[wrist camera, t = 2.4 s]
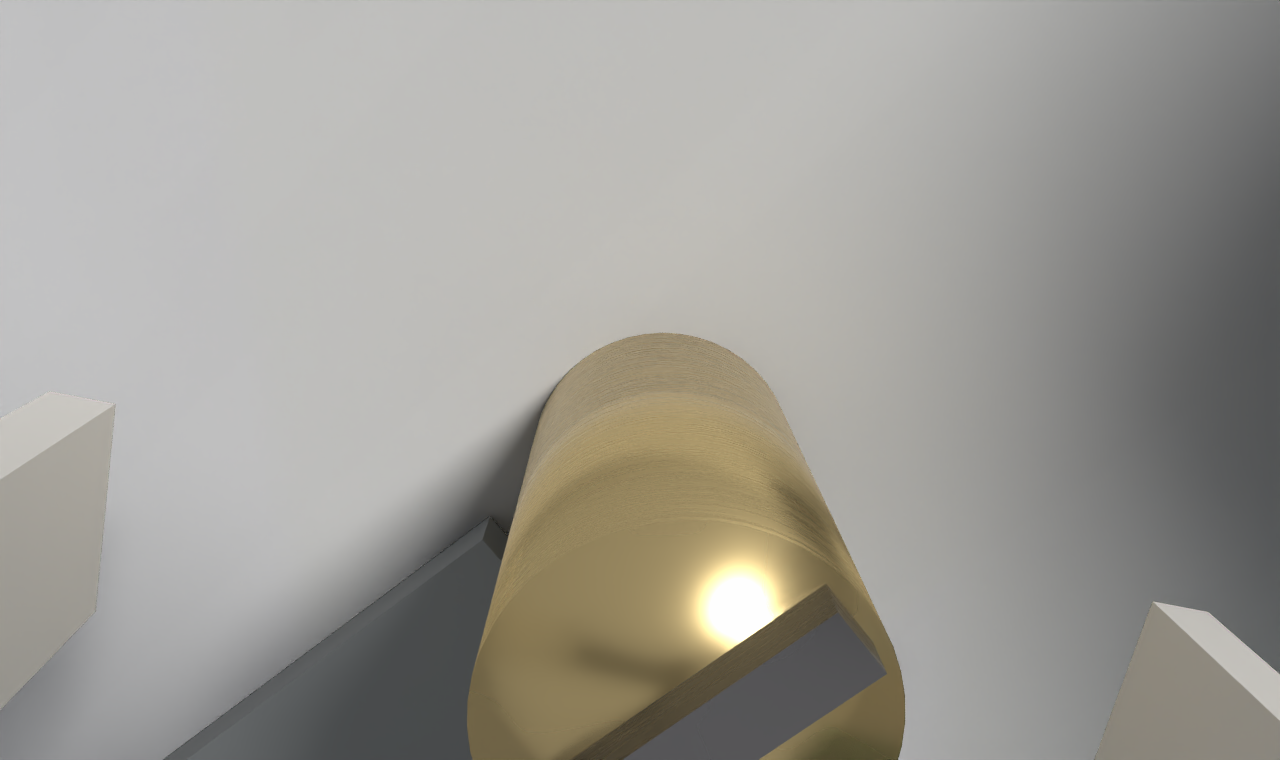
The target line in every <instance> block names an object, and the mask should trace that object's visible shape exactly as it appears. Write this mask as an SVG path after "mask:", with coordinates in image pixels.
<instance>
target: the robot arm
mask: <svg viewBox="0 0 1280 760" xmlns="http://www.w3.org/2000/svg"><path fill="white" fill-rule="evenodd" d="M115 406H116V404H114V403H109V402H103V401H98V400H93V399H88V398H82V397H77V396H72V395H67V394H61V393H56V392H51V391H49V392H47V393H45V394H44V395H42V396H40V397H38V398H36V399H35V400H33V401H31V402H29V403H27V404H26V405H24V406H22V407H20V408H18V409H16V410H15V411H13V412H11V413H9V414H7V415H6V416H4V417H2V418H0V710H1V709H2V708H3V707H4V706H5V705H6V704H7V703H8V702H9V701H10V700H11V699H12V698H13V697H14V696H15V695H16V694H17V693H18V692H19V690H20V689H21V688H22V687H23V686H24V685H25V684H26V683H27V682H28V681H29V680H30V679H31V678H32V677H33V676H34V675H35V674H36V673H37V672H38V671H39V670H40V669H41V668H42V667H43V666H44V664H45V663H46V662H47V661H48V660H49V659H50V658H51V657H52V656H53V655H54V654H55V653H56V652H57V651H58V650H59V649H60V648H61V647H62V646H63V645H64V644H65V643H66V642H67V641H68V640H69V639H70V637H71V636H72V635H73V634H74V633H75V632H76V631H77V630H78V629H79V628H80V627H81V626H82V625H83V624H84V623H85V622H86V621H87V620H88V619H89V618H90V617H91V616H92V615H93V614H94V613H95V612H96V602H97V591H98V581H99V571H100V561H101V550H102V540H103V530H104V519H105V509H106V499H107V488H108V478H109V468H110V457H111V447H112V437H113V427H114V416H115ZM1094 760H1280V674H1279V673H1278V672H1276V671H1275V670H1274V669H1273V668H1272V667H1271V666H1270V665H1268V664H1267V663H1266V662H1265V661H1264V660H1263V659H1262V658H1260V657H1259V656H1258V655H1257V654H1256V653H1255V652H1253V651H1252V650H1251V649H1250V648H1249V647H1248V646H1247V645H1245V644H1244V643H1243V642H1242V641H1241V640H1240V639H1239V638H1237V637H1236V636H1235V635H1234V634H1233V633H1232V632H1230V631H1229V630H1228V629H1227V628H1226V627H1225V626H1224V625H1222V624H1221V623H1220V622H1219V621H1218V620H1217V619H1216V618H1214V617H1213V616H1212V615H1211V614H1210V613H1209V612H1206V611H1201V610H1196V609H1190V608H1185V607H1180V606H1174V605H1169V604H1164V603H1159V602H1152V604H1151V607H1150V610H1149V613H1148V615H1147V618H1146V621H1145V623H1144V626H1143V629H1142V632H1141V634H1140V637H1139V640H1138V642H1137V645H1136V648H1135V650H1134V653H1133V656H1132V659H1131V661H1130V664H1129V667H1128V669H1127V672H1126V675H1125V678H1124V680H1123V683H1122V686H1121V688H1120V691H1119V694H1118V697H1117V699H1116V702H1115V705H1114V707H1113V710H1112V713H1111V715H1110V718H1109V721H1108V724H1107V726H1106V729H1105V732H1104V734H1103V737H1102V740H1101V743H1100V745H1099V748H1098V751H1097V753H1096V756H1095V759H1094Z"/></svg>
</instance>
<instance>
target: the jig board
mask: <svg viewBox="0 0 1280 760" xmlns="http://www.w3.org/2000/svg"><path fill="white" fill-rule="evenodd" d="M507 540H508V536H507V535H506V534H505V533H504V532H503V531H502V530H501V528H500V527H499V526H498V525H497V524H496V523H495V522H494V520H493V519H492V518H491V517H488V518H487V519H486V520H484V521H483V522H482V523H480V524H479V525H478V526H476V527H475V528H473V529H472V530H471V531H469V532H468V533H467V534H465V535H464V536H463V537H461V538H460V539H459V540H457V541H456V542H455V543H453V544H452V545H451V546H449V547H448V548H447V549H445V550H444V551H443V552H441V553H440V554H439V555H437V556H436V557H435V558H433V559H432V560H431V561H429V562H428V563H427V564H425V565H424V566H422V567H421V568H420V569H418V570H417V571H416V572H414V573H413V574H412V575H410V576H409V577H408V578H406V579H405V580H404V581H402V582H401V583H400V584H398V585H397V586H396V587H394V588H393V589H392V590H390V591H389V592H388V593H386V594H385V595H384V596H382V597H381V598H380V599H378V600H377V601H376V602H374V603H373V604H372V605H370V606H369V607H367V608H366V609H365V610H363V611H362V612H361V613H359V614H358V615H357V616H355V617H354V618H353V619H351V620H350V621H349V622H347V623H346V624H345V625H343V626H342V627H341V628H339V629H338V630H337V631H335V632H334V633H333V634H331V635H330V636H329V637H327V638H326V639H325V640H323V641H322V642H321V643H319V644H318V645H317V646H315V647H314V648H312V649H311V650H310V651H308V652H307V653H306V654H304V655H303V656H302V657H300V658H299V659H298V660H296V661H295V662H294V663H292V664H291V665H290V666H288V667H287V668H286V669H284V670H283V671H282V672H280V673H279V674H278V675H276V676H275V677H274V678H272V679H271V680H270V681H268V682H267V683H266V684H264V685H263V686H261V687H260V688H259V689H257V690H256V691H255V692H253V693H252V694H251V695H249V696H248V697H247V698H245V699H244V700H243V701H241V702H240V703H239V704H237V705H236V706H235V707H233V708H232V709H231V710H229V711H228V712H227V713H225V714H224V715H223V716H221V717H220V718H219V719H217V720H216V721H215V722H213V723H212V724H211V725H209V726H208V727H206V728H205V729H204V730H202V731H201V732H200V733H198V734H197V735H196V736H194V737H193V738H192V739H190V740H189V741H188V742H186V743H185V744H184V745H182V746H181V747H180V748H178V749H177V750H176V751H174V752H173V753H172V754H170V755H169V756H168V757H166V758H165V759H164V760H472V756H471V753H470V747H469V739H468V731H467V701H468V695H469V689H470V684H471V678H472V673H473V669H474V666H475V662H476V658H477V654H478V650H479V647H480V643H481V639H482V635H483V631H484V628H485V624H486V620H487V616H488V612H489V609H490V605H491V601H492V597H493V593H494V589H495V586H496V582H497V578H498V574H499V570H500V567H501V563H502V559H503V555H504V551H505V548H506V544H507Z"/></svg>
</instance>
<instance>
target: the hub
mask: <svg viewBox="0 0 1280 760" xmlns="http://www.w3.org/2000/svg"><path fill="white" fill-rule="evenodd" d="M904 726H905V694H904V688H903V681H902V675H901V670H900V667H899V664H898V661H897V657H896V654H895V651H894V648H893V645H892V643H891V641H890V639H889V637H888V635H887V633H886V631H885V628H884V626H883V624H882V622H881V620H880V618H879V616H878V614H877V611H876V609H875V607H874V605H873V603H872V601H871V599H870V596H869V594H868V592H867V590H866V588H865V586H864V584H863V582H862V579H861V577H860V575H859V573H858V571H857V569H856V567H855V565H854V562H853V560H852V558H851V556H850V554H849V552H848V550H847V548H846V545H845V543H844V541H843V539H842V537H841V535H840V533H839V531H838V528H837V526H836V524H835V522H834V520H833V518H832V516H831V514H830V511H829V509H828V507H827V505H826V503H825V501H824V499H823V497H822V494H821V492H820V490H819V488H818V486H817V484H816V482H815V480H814V477H813V475H812V473H811V471H810V469H809V467H808V465H807V463H806V460H805V458H804V456H803V454H802V452H801V450H800V448H799V446H798V443H797V441H796V439H795V437H794V435H793V433H792V431H791V429H790V426H789V424H788V422H787V420H786V418H785V416H784V414H783V412H782V409H781V407H780V405H779V403H778V401H777V399H776V397H775V395H774V394H773V392H772V391H771V389H770V388H769V386H768V385H767V383H766V382H765V381H764V380H763V378H762V377H761V376H760V375H759V374H758V373H757V372H756V371H755V370H754V369H753V368H752V367H751V366H750V365H749V364H747V363H746V362H745V361H744V360H743V359H742V358H740V357H738V356H737V355H735V354H734V353H732V352H731V351H729V350H728V349H725V348H723V347H721V346H719V345H717V344H715V343H713V342H710V341H707V340H704V339H701V338H698V337H693V336H688V335H683V334H672V333H654V334H643V335H638V336H633V337H628V338H625V339H622V340H619V341H616V342H613V343H611V344H609V345H607V346H605V347H603V348H601V349H599V350H596V351H595V352H593V353H592V354H590V355H589V356H587V357H586V358H584V359H583V360H581V361H580V362H579V363H578V364H577V365H576V366H575V367H573V368H572V369H571V370H570V371H569V372H568V373H567V374H566V375H565V377H564V378H563V379H562V380H561V381H560V382H559V383H558V385H557V386H556V388H555V389H554V391H553V392H552V394H551V395H550V397H549V399H548V401H547V403H546V405H545V407H544V409H543V411H542V414H541V417H540V420H539V423H538V426H537V430H536V433H535V437H534V441H533V445H532V449H531V452H530V456H529V460H528V464H527V468H526V471H525V475H524V479H523V483H522V487H521V490H520V494H519V498H518V502H517V506H516V510H515V513H514V517H513V521H512V525H511V529H510V532H509V536H508V540H507V544H506V548H505V551H504V555H503V559H502V563H501V567H500V570H499V574H498V578H497V582H496V586H495V589H494V593H493V597H492V601H491V605H490V609H489V612H488V616H487V620H486V624H485V628H484V631H483V635H482V639H481V643H480V647H479V650H478V654H477V658H476V662H475V666H474V669H473V673H472V678H471V684H470V689H469V695H468V701H467V731H468V739H469V747H470V753H471V756H472V760H898V757H899V754H900V750H901V747H902V740H903V733H904Z"/></svg>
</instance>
